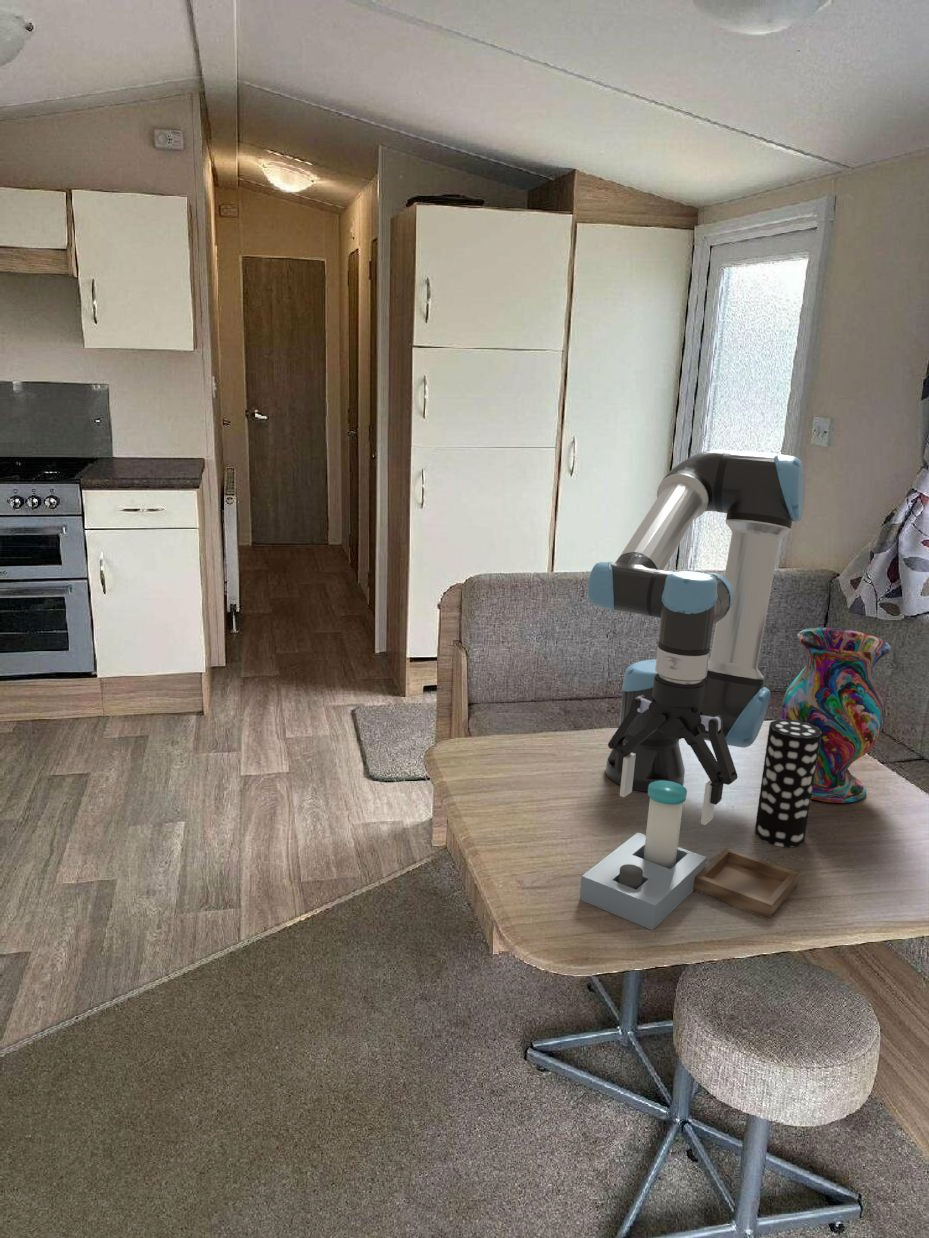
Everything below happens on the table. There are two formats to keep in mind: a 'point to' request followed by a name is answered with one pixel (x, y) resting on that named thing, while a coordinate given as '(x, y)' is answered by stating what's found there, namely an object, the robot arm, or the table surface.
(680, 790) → the ball
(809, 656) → the vase
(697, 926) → the table surface
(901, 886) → the table surface
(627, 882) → the plunger
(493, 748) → the table surface
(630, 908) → the housing
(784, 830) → the spotted tube
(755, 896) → the tray
